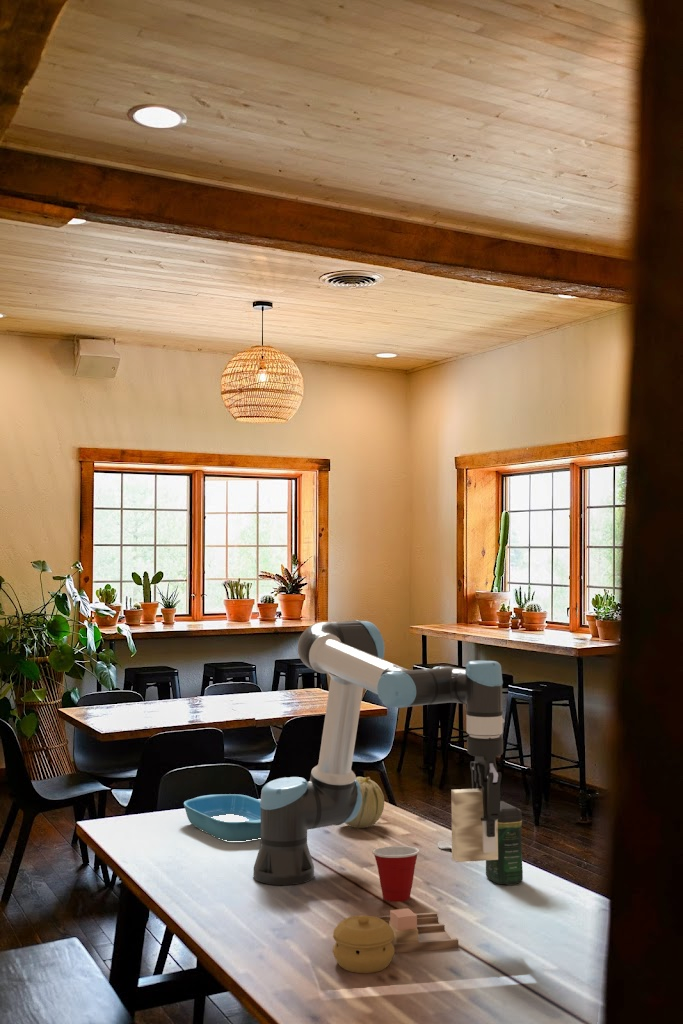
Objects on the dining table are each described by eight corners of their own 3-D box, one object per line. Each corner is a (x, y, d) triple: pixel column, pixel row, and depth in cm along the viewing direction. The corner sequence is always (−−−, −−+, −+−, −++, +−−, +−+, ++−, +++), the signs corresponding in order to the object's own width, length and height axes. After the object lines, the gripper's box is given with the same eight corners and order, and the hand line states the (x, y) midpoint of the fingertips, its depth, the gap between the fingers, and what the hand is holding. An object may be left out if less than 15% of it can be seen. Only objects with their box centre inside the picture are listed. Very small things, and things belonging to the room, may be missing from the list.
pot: (403, 978, 181) (402, 923, 182) (342, 985, 178) (342, 929, 178) (382, 954, 192) (382, 902, 193) (325, 961, 189) (325, 908, 189)
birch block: (456, 862, 200) (455, 792, 200) (452, 858, 202) (451, 789, 203) (498, 859, 201) (497, 790, 202) (493, 855, 204) (492, 787, 205)
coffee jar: (527, 884, 236) (526, 806, 237) (498, 887, 233) (497, 808, 235) (510, 872, 245) (509, 797, 246) (481, 875, 243) (480, 800, 244)
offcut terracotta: (398, 930, 194) (398, 917, 194) (390, 922, 198) (390, 910, 198) (417, 928, 195) (416, 915, 195) (408, 920, 199) (408, 908, 199)
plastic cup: (407, 892, 230) (406, 840, 231) (428, 906, 220) (427, 852, 221) (365, 898, 226) (364, 845, 227) (384, 912, 216) (383, 857, 217)
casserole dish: (299, 838, 278) (299, 813, 279) (230, 851, 265) (230, 824, 266) (236, 813, 308) (236, 790, 309) (172, 823, 296) (172, 799, 296)
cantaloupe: (338, 820, 298) (338, 770, 299) (386, 821, 296) (386, 771, 297) (331, 832, 283) (331, 780, 284) (381, 834, 281) (381, 781, 282)
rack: (394, 958, 190) (394, 944, 190) (377, 929, 206) (377, 916, 206) (458, 953, 192) (458, 939, 193) (436, 925, 208) (436, 912, 208)
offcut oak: (396, 947, 193) (396, 931, 193) (389, 936, 199) (389, 921, 199) (418, 945, 194) (418, 930, 194) (410, 934, 199) (410, 919, 200)
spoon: (447, 845, 271) (447, 839, 271) (480, 866, 252) (480, 860, 252) (433, 847, 270) (433, 840, 270) (466, 867, 250) (466, 861, 250)
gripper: (515, 740, 197) (517, 859, 195) (489, 728, 213) (490, 838, 211) (480, 742, 195) (481, 861, 194) (456, 730, 211) (457, 840, 210)
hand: (486, 849), depth 202 cm, fingers closed on birch block, 3 cm apart
